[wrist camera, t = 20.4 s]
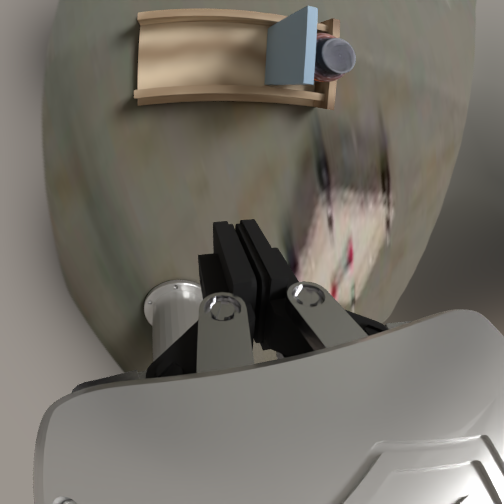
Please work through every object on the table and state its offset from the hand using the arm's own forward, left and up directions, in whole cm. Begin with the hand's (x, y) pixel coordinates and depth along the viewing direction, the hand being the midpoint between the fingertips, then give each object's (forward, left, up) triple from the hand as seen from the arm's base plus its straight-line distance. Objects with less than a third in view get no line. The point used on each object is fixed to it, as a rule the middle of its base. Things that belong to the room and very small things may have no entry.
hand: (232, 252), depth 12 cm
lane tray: (+12, -5, -27) cm, 30 cm away
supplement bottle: (+12, -13, -26) cm, 32 cm away
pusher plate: (+12, -9, -26) cm, 30 cm away
